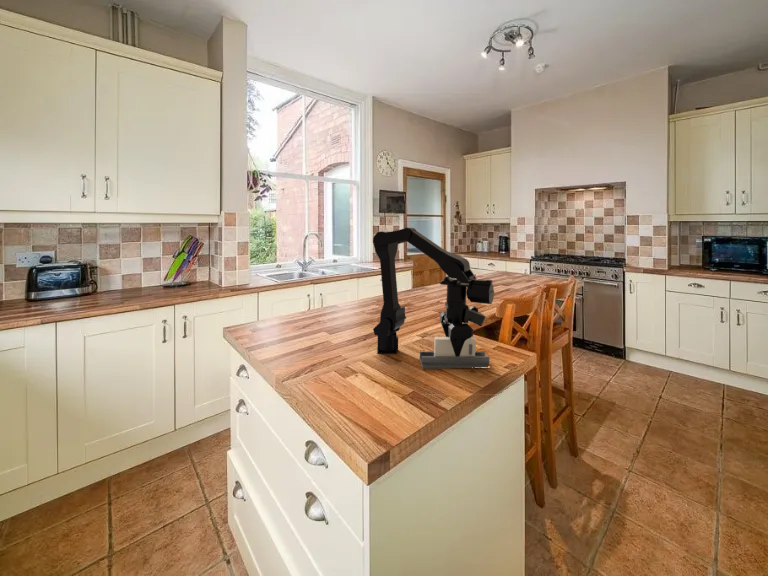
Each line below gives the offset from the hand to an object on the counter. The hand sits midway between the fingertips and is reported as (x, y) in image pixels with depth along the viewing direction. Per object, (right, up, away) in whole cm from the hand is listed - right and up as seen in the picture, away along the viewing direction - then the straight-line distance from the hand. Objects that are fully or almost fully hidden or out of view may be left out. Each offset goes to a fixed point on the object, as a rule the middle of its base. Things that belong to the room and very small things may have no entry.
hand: (454, 351), depth 108 cm
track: (0, -4, +1) cm, 4 cm away
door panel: (0, -3, +1) cm, 3 cm away
